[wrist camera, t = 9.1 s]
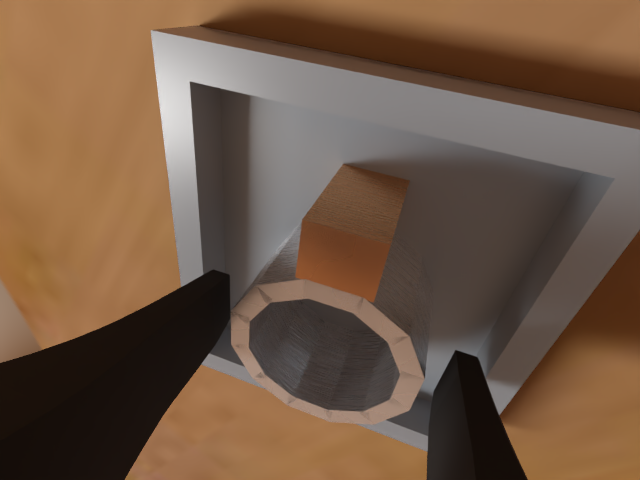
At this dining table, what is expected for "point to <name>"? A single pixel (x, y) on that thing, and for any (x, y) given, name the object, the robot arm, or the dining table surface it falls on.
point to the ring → (341, 307)
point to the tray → (421, 197)
